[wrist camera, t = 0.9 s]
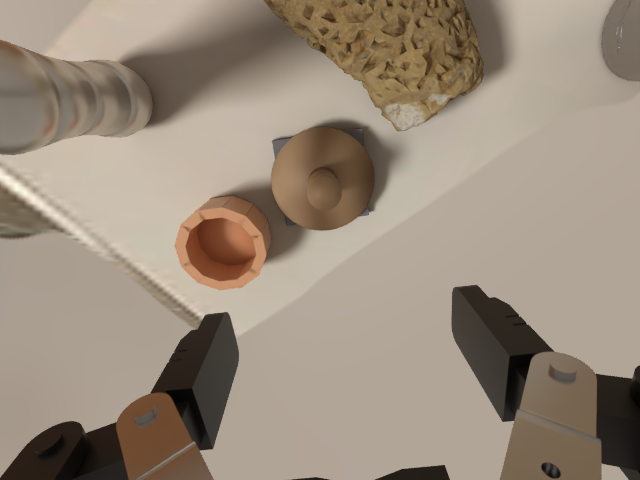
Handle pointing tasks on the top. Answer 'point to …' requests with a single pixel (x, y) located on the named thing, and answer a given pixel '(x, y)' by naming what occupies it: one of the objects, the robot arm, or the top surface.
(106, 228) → the top surface
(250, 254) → the bowl
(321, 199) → the lid
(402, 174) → the top surface
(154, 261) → the top surface
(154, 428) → the robot arm
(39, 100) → the plastic bottle
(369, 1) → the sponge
